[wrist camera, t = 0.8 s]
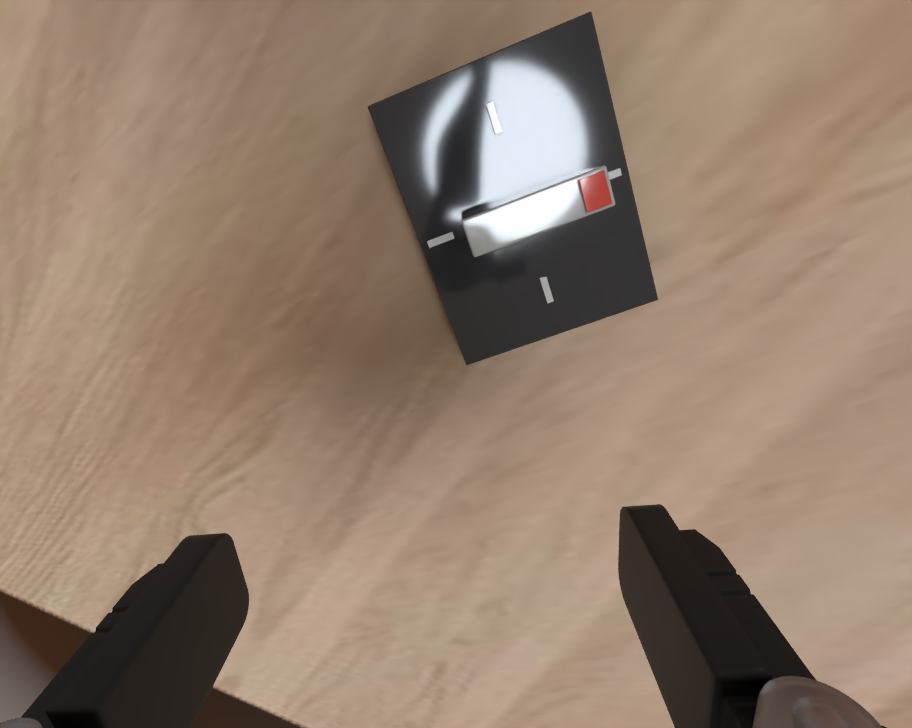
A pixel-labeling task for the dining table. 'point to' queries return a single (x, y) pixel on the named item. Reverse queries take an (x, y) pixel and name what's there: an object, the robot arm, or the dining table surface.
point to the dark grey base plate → (518, 188)
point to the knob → (538, 209)
